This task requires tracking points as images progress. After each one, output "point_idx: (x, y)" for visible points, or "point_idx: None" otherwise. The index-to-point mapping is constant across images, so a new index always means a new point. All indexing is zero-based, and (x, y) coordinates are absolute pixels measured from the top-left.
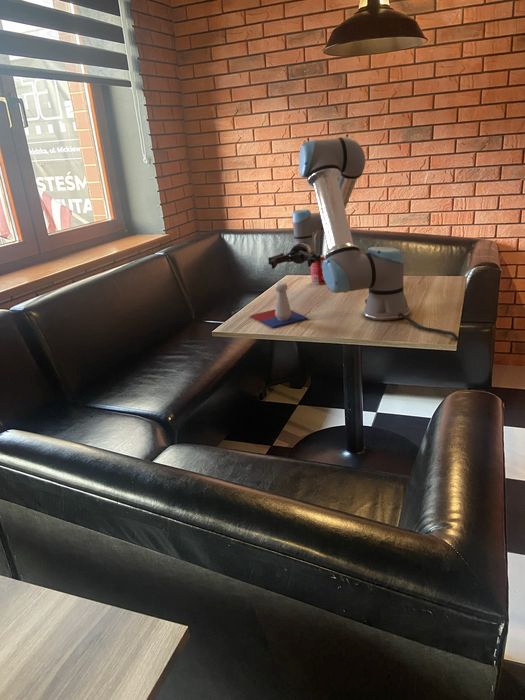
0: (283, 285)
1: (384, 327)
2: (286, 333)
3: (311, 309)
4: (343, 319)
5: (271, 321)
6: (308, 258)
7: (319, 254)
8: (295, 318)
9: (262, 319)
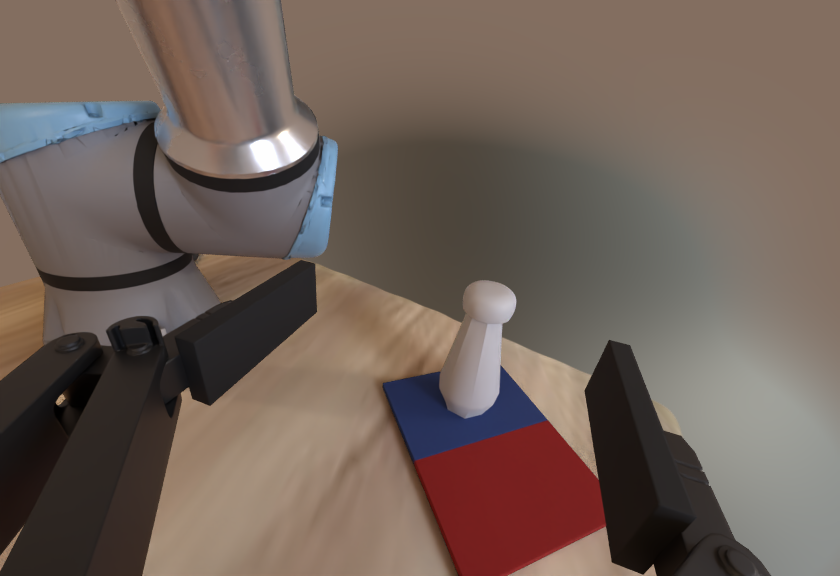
0: (479, 281)
1: (241, 283)
2: (457, 326)
3: (322, 499)
4: (282, 347)
5: (507, 398)
6: (290, 279)
7: (8, 374)
8: (423, 391)
9: (546, 430)
